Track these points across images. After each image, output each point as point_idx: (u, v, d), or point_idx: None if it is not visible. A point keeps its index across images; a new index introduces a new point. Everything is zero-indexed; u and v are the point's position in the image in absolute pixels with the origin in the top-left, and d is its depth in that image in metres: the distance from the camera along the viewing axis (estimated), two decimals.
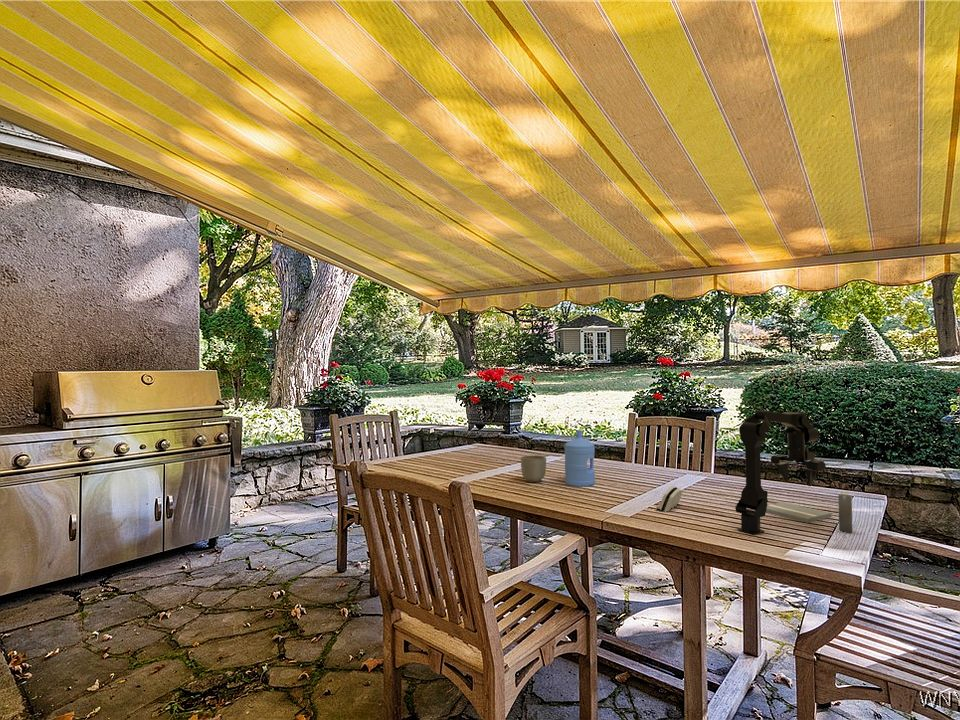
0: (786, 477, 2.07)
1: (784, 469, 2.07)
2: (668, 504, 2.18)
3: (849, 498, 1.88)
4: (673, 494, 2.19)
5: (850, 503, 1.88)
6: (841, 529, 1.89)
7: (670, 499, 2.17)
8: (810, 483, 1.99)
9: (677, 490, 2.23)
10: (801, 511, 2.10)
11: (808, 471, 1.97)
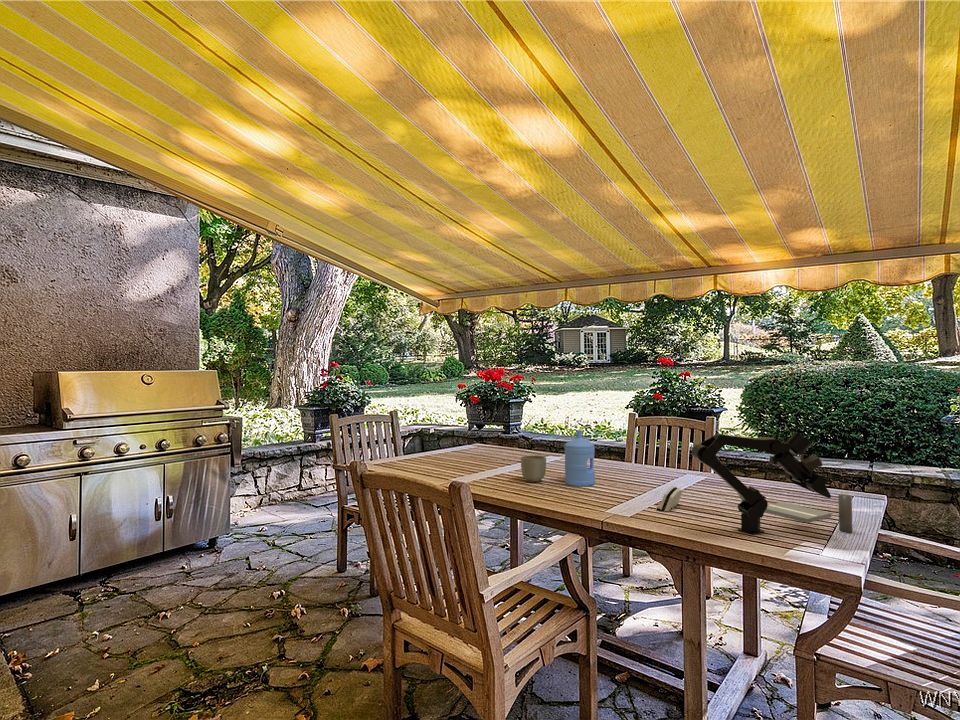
0: (810, 488, 1.94)
1: (803, 483, 1.95)
2: (668, 504, 2.18)
3: (849, 498, 1.88)
4: (673, 494, 2.19)
5: (850, 503, 1.88)
6: (841, 529, 1.89)
7: (670, 499, 2.17)
8: (827, 496, 1.85)
9: (677, 490, 2.23)
10: (801, 511, 2.10)
11: (813, 491, 1.84)
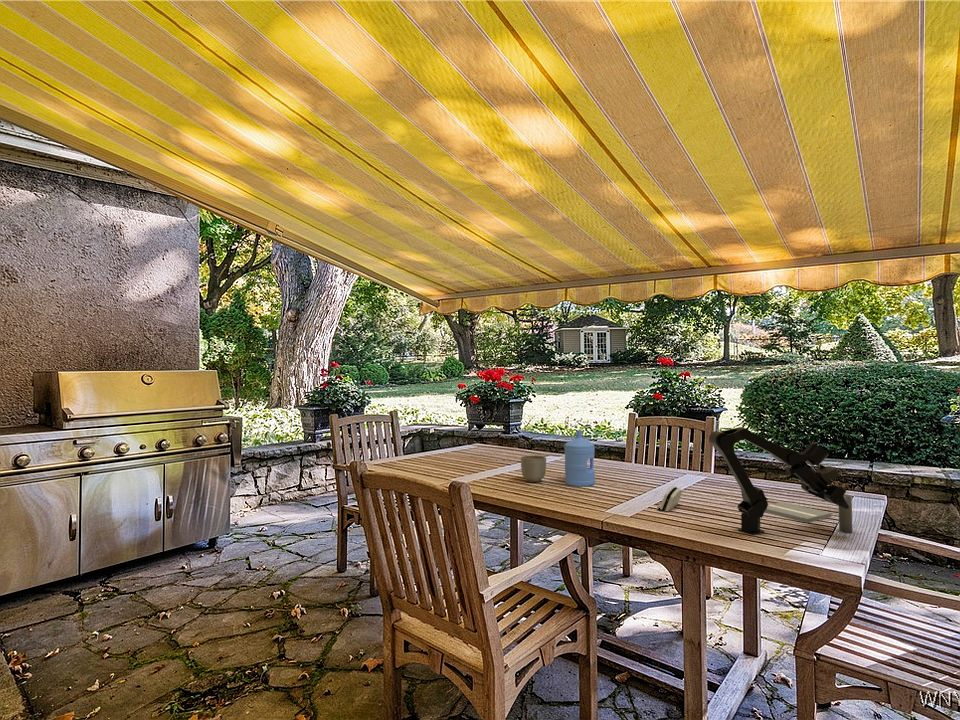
0: None
1: (820, 493, 1.95)
2: (669, 504, 2.18)
3: (849, 498, 1.88)
4: (674, 494, 2.19)
5: (850, 503, 1.88)
6: (841, 529, 1.89)
7: (671, 499, 2.18)
8: (845, 507, 1.85)
9: (677, 490, 2.23)
10: (801, 511, 2.10)
11: (831, 502, 1.84)
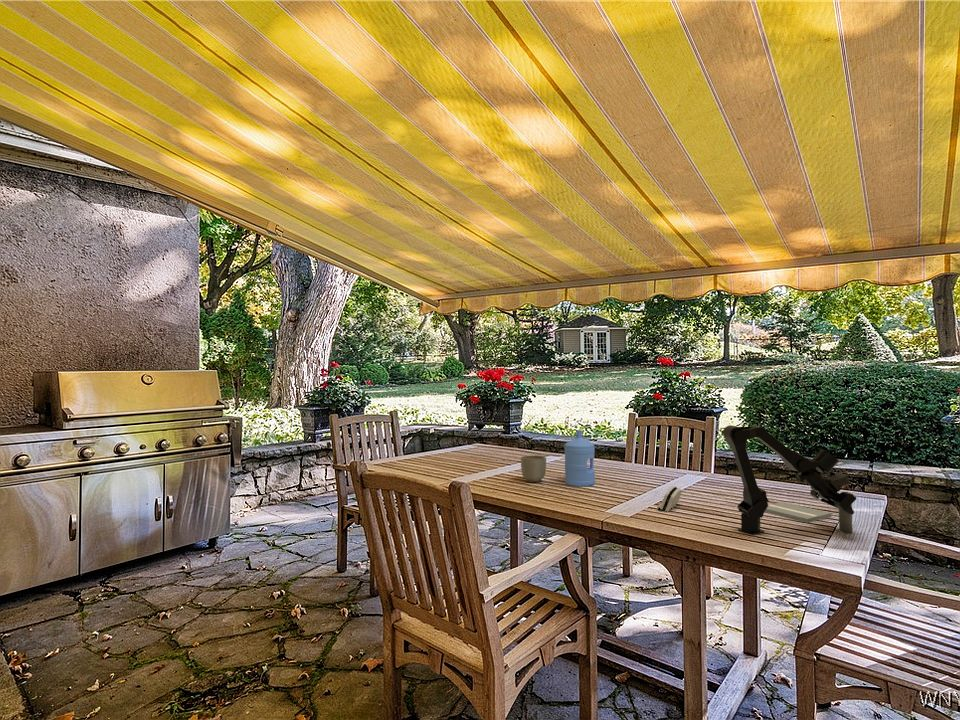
0: None
1: (833, 501, 1.92)
2: (669, 504, 2.18)
3: None
4: (674, 494, 2.19)
5: None
6: (841, 529, 1.89)
7: (671, 499, 2.18)
8: (850, 512, 1.87)
9: (677, 490, 2.23)
10: (801, 511, 2.10)
11: (837, 507, 1.86)
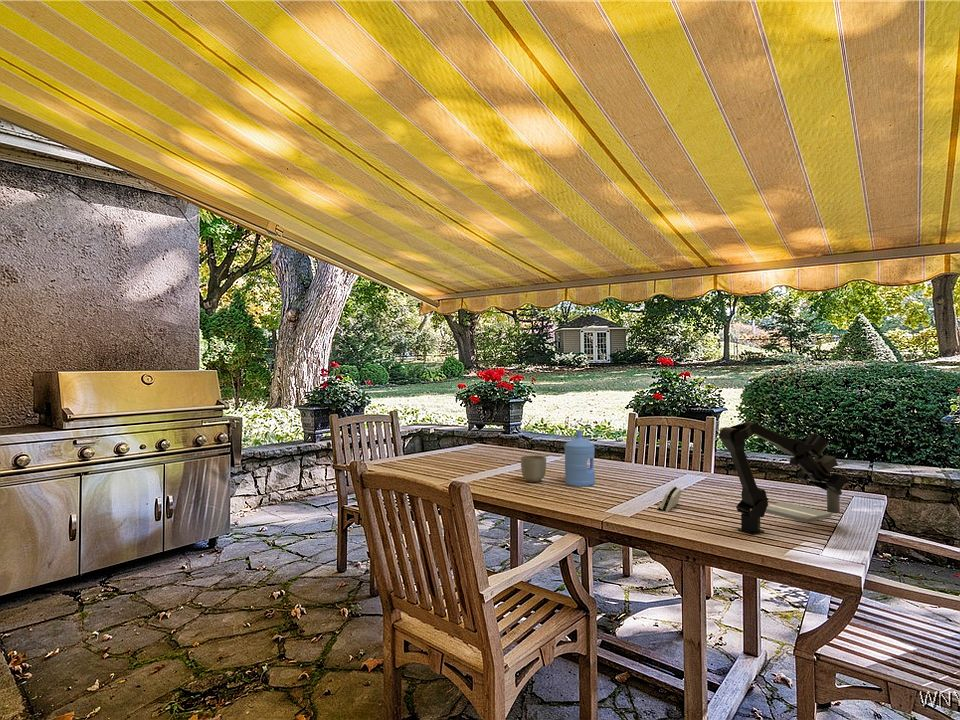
0: None
1: (821, 483, 1.98)
2: (670, 504, 2.18)
3: None
4: (674, 494, 2.20)
5: None
6: (830, 510, 1.95)
7: (671, 499, 2.18)
8: (839, 493, 1.93)
9: (677, 489, 2.24)
10: (801, 511, 2.10)
11: (828, 489, 1.92)
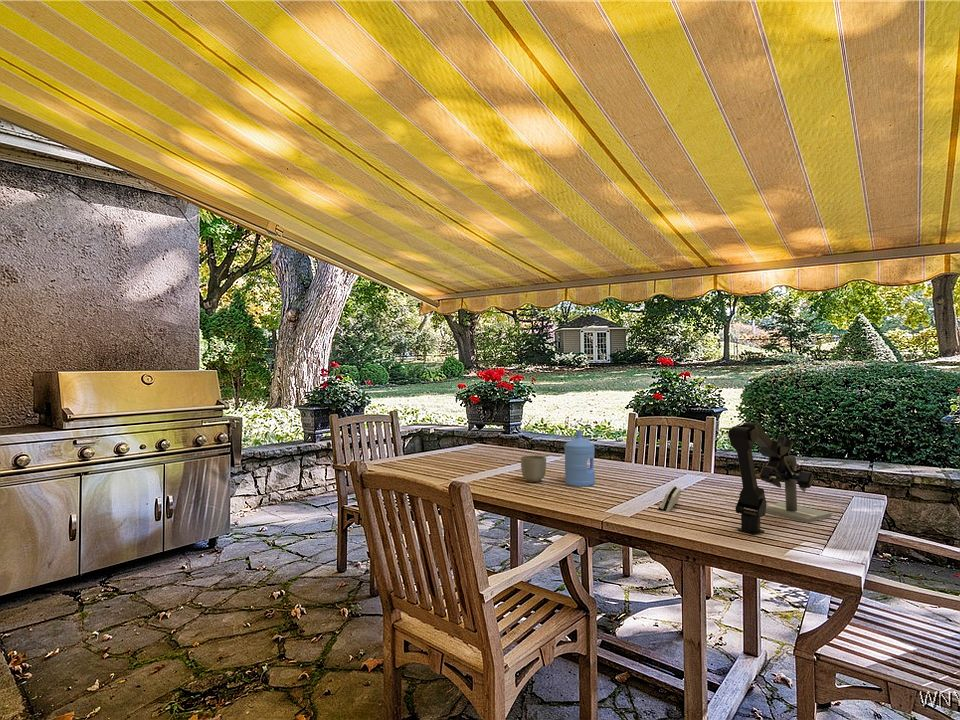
0: (779, 485, 2.16)
1: (775, 481, 2.15)
2: (670, 503, 2.19)
3: (795, 480, 2.11)
4: (675, 493, 2.20)
5: None
6: (791, 509, 2.11)
7: (672, 498, 2.18)
8: (805, 490, 2.08)
9: (677, 489, 2.24)
10: (801, 511, 2.10)
11: (802, 487, 2.04)
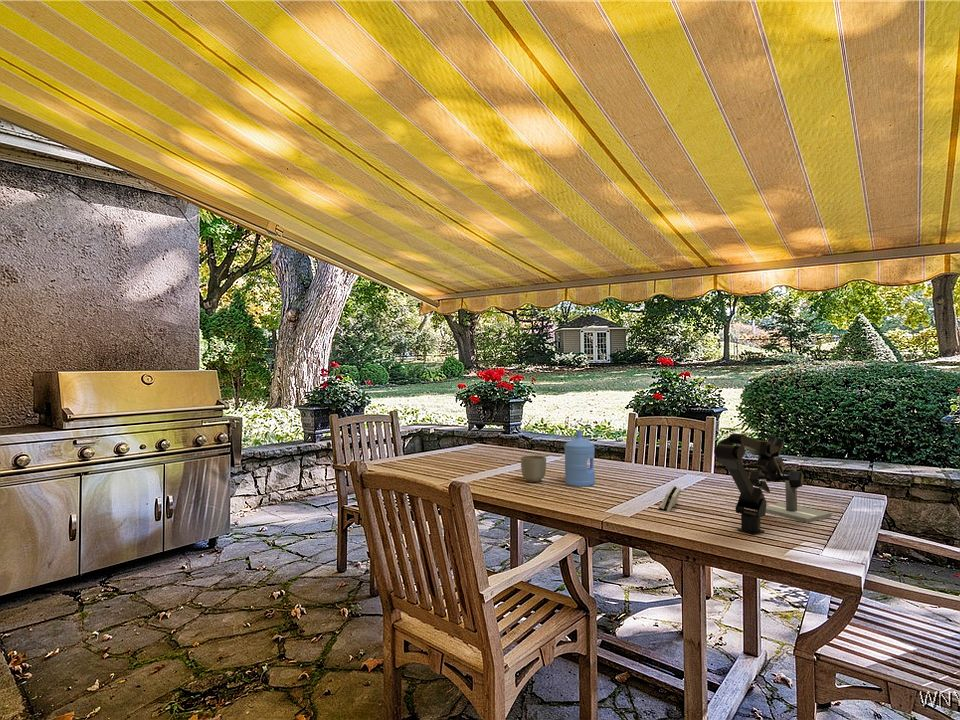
0: (768, 489, 2.09)
1: (764, 485, 2.08)
2: (671, 503, 2.19)
3: None
4: (675, 493, 2.20)
5: None
6: (791, 509, 2.11)
7: (673, 498, 2.19)
8: (795, 491, 2.03)
9: (678, 489, 2.25)
10: (801, 511, 2.10)
11: (793, 488, 1.99)
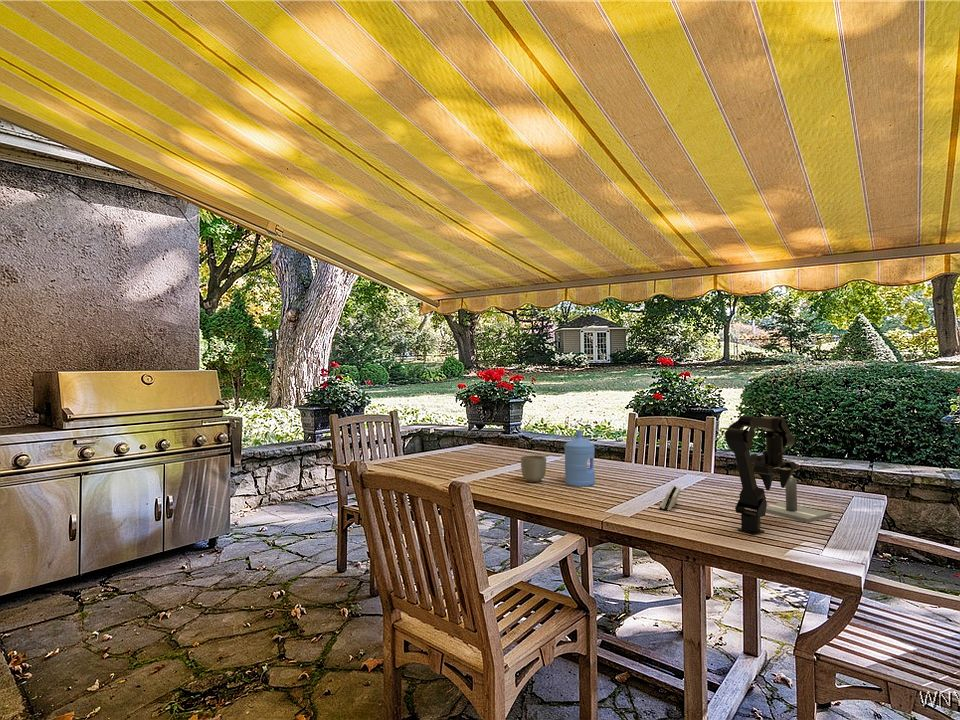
0: None
1: None
2: (671, 503, 2.19)
3: (796, 480, 2.11)
4: (675, 493, 2.21)
5: (796, 484, 2.11)
6: (791, 509, 2.11)
7: (673, 498, 2.19)
8: None
9: (678, 489, 2.25)
10: (801, 511, 2.10)
11: (791, 472, 2.02)
